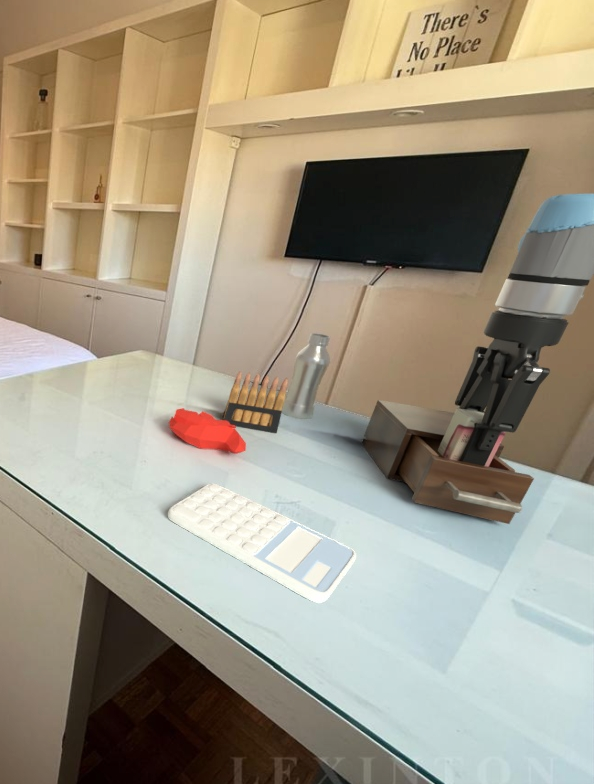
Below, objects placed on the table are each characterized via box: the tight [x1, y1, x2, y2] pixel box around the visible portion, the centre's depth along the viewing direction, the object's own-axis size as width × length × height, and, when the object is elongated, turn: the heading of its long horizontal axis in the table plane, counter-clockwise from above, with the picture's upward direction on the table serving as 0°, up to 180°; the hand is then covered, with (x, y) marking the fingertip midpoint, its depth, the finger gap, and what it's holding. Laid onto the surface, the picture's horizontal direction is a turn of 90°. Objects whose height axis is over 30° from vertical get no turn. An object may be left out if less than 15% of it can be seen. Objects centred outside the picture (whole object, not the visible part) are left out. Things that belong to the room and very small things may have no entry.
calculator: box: [167, 483, 357, 604], centre depth 61 cm, size 13×20×2 cm, turn 40°
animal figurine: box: [168, 407, 247, 455], centre depth 88 cm, size 12×15×5 cm
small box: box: [438, 407, 507, 467], centre depth 71 cm, size 5×4×8 cm
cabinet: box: [360, 399, 505, 483], centre depth 84 cm, size 16×13×10 cm
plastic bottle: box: [281, 333, 331, 420], centre depth 100 cm, size 6×7×20 cm
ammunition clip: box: [221, 371, 289, 434], centre depth 96 cm, size 11×2×12 cm, turn 72°
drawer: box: [397, 434, 535, 525], centre depth 73 cm, size 19×12×8 cm, turn 157°
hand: (462, 459), depth 72 cm, fingers closed on small box, 4 cm apart
